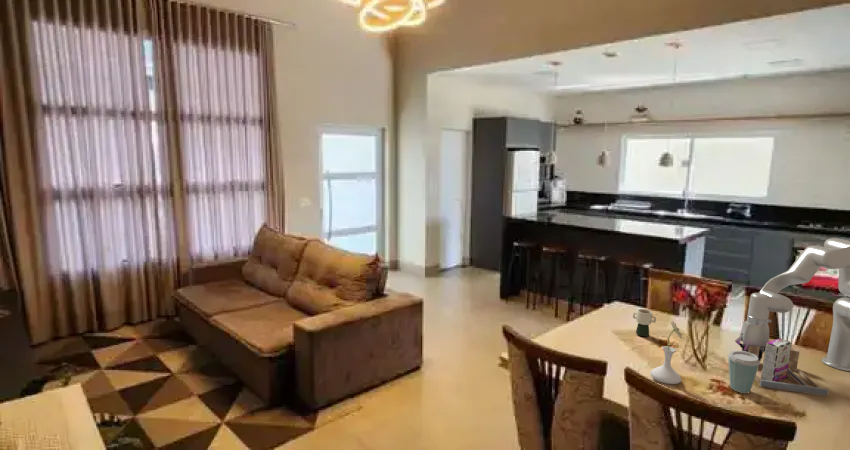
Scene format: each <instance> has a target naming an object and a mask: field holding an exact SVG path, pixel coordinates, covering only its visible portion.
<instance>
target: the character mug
mask: <svg viewBox="0 0 850 450" xmlns="http://www.w3.org/2000/svg"><path fill="white" fill-rule="evenodd" d="M632 318H633V319H635V320H636V322H637V327H636V330H635V334H636V335H638V336H641V337H648V336H650V326H649V325H652V323H654V324H655V323H657V322H656V321H657V317H656V316H654V315H653V311H651V310H649V309H646V308H639V309H637V311H636V312H634V311H633V313H632Z"/></svg>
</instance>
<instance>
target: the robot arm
mask: <svg viewBox="0 0 850 450" xmlns="http://www.w3.org/2000/svg"><path fill="white" fill-rule="evenodd" d="M821 268H825V269H828V270H837V269H838V281H837V282H838V284H837V285H838V291H839V292H840V293H841V294H842V295H844V296H846V297H840V298H838V299H836V300H835V301H834V303H833V305H832V317H833V318H832V320H833V321H832V327H831V333H830V338H829V344H828V350H827V353H826V354H827V355H826V356H824V357H821V362H822V363H823V364H825V365H826V366H828V367H830V368H834V369H836V370H840V371H844V372H845V371H846V372H850V240H848V239H843V238H839V237H838V238H837V237H831V238H828V239H826V240H825V241H824V243H823V246H821V245H809V246H807V247H805V249H804V250H803V251H801V253H800V254H799V255H798V257H797V258H796V260H795V261H794V262H793V263H792V265H791V266H790V267H789V269H788V270H786V271H784V272H781V273H780V274H777V275H776V276H774V277H772V278H770V279H769V280H768V281H767V282H766V283H765V284H764V285H763V286H762V288H761V289H760V291H758V292H753V293H751V294H750V298H749V302H748V303H749V305H748V310H747V317H746V320H744V321H743V322H742V325H741V329H740V333H739V337H737V338H736V339H735V340H734V342H735V343H736V344H737V345H738V346H739V347H740V348H741V351H746V352H748V351H747V348H748V346H749V345H754V346H760V349H759V356H758V358H759V361H760V362H761V361H762V359H763V355H764V353H765V346H766V343H767V342H770V341H771V340H770V327H769V323H772V319H769V317H770V312H774V313H779V314H780V313H781V314H785V313H788V312H790V311H792V309H793V308H794V303H793V301H792V300H791V298H789V297H787V296H785V295H782V294H780V292H781V290H783V289H784V288H787V287H789V286H795V285H802V284H807V283H809V282H810V281H811V280H812V278H813V277H814V276H815V274H817V272H818V271H819V270H820V269H821ZM741 342H742V343H741Z"/></svg>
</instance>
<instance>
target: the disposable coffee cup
mask: <svg viewBox="0 0 850 450" xmlns="http://www.w3.org/2000/svg"><path fill="white" fill-rule="evenodd" d="M727 358H728V359H727V360H728V375H729V386H730V389H731V388H732V389H733V390H735V391H738V392H741V393H740V394H742V393H748V392H749V393H750V392H751V390H752V387H753V385H754V381H755V380H756V379H755V376H756V375H757V372H758V369H759V368H760V367H759V364H760V363H761V361H759V358H758V357H757V355H754V354H752V353H749V352H746V351H742V350H733V351H730V353H728V355H727ZM732 389H731V390H732ZM733 390H732V391H733ZM735 391H734V392H735ZM738 392H737V393H738ZM749 393H748V394H749Z"/></svg>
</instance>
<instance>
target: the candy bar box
mask: <svg viewBox="0 0 850 450" xmlns="http://www.w3.org/2000/svg"><path fill="white" fill-rule="evenodd" d="M769 341H770V342H767V343H766V346H765V351H764V353H763V362H762V364H763V367H761V368H762V369H761V375H760V379H761V380H768V381H775V382H780V381H783V380H784V379H787V377H788V376H787V371H788V365H789V358H790V352H791V348H792V345H793V344H792V343H793V341H790V340H787V339H783V338H776V339H774V340H769Z"/></svg>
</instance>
